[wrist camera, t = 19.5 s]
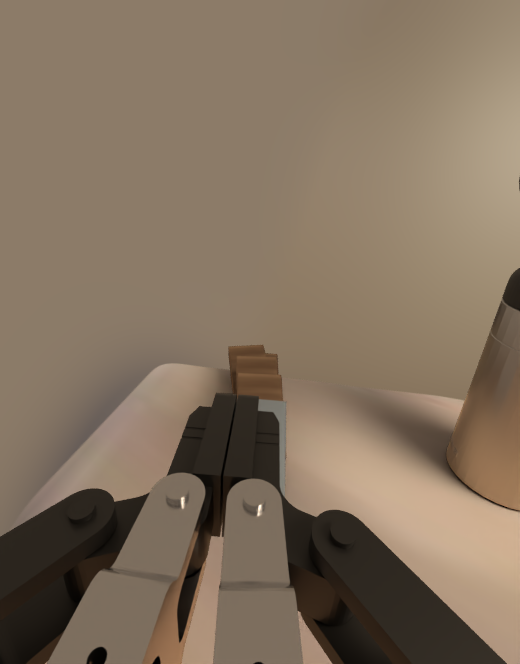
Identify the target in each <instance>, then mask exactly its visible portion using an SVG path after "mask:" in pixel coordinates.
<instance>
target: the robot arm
mask: <svg viewBox="0 0 520 664" xmlns="http://www.w3.org/2000/svg"><path fill="white" fill-rule="evenodd" d="M519 189H520V179H519ZM258 407H259V396H252V395H238V400H237V394H225V393H216V395H215V398H214V401H213V405H212V407H202V406H199V407H198V408H197V409H196V410H195V411H194V412H193V413H192V414H191V415H190V416H189V419H188V421H187V424H186V427H185V429H184V432H183V435H182V438H181V440H180V443H179V445H178V448H177V451H176V453H175V456H174V458H173V461H172V464H171V466H170V469H169V472H168V474H167V476H166V477H164V478H162V479H161V480H160V481H158V482H157V483H156V484H155V485H154V487H153V488H152V490H151V492H150V493H148V494H146V495H143V496H140V497H136V498H132V499H127V500H122V501H117V502H114V499H113V497H112V496H111V494H109V493H108V492H107V491H105V490H102V489H86V490H82V491H79V492H77V493H74V494H72V495H70V496H69V497H67V498H65V499H64V500H62V501H60V502H58V503H57V504H55V505H53V506H52V507H50V508H48V509H47V510H45V511H43V512H41V513H40V514H38V515H36V516H35V517H33V518H31V519H30V520H28V521H26V522H24V523H23V524H21V525H19V526H18V527H16V528H14V529H13V530H11V531H9V532H7V533H6V534H4V535H2V536H1V537H0V664H45V663H46V662H47V661H48V660H49V661H48V663H47V664H181V663H182V657H183V652H184V647H185V643H186V639H187V635H188V631H189V628H190V624H191V620H192V616H193V612H194V608H195V605H196V601H197V597H198V593H199V589H200V586H201V582H202V578H203V574H204V570H205V566H206V558H207V555H208V550H209V545H210V539H211V536H218V537H220V532H221V526H222V537H224V543H223V556H222V569H221V581H220V586H219V595H218V607H217V620H216V633H215V646H214V659H213V664H303V657H302V648H301V639H300V630H299V620H298V611H299V612H301V615H302V618H303V620H304V622H305V623H306V625H307V626H308V628H309V629H310V631H311V632H312V634H313V635H314V637H315V638H316V640H317V641H318V643H319V644H320V646H321V647H322V649H323V650H324V652H325V653H326V655H327V656H328V658H329V659H330V661H331V662H332V664H507V663H506V662H505V661H504V660H503V659H502V658H501V657H500V656H498V655H497V654H496V653H495V652H494V651H493V650H492V649H491V648H490V647H489V646H488V645H487V644H486V643H485V642H484V641H483V640H482V639H481V638H480V637H479V636H478V635H477V634H476V633H475V632H474V631H473V630H472V629H471V628H470V627H469V626H468V625H467V624H466V623H465V622H464V621H463V620H462V619H461V618H460V617H459V616H458V615H457V614H456V613H454V612H453V611H452V610H451V609H450V608H449V607H448V606H447V605H446V604H445V603H444V602H443V601H442V600H441V599H440V598H439V597H438V596H437V595H436V594H435V593H434V592H433V591H432V590H431V589H430V588H429V587H428V586H427V585H426V584H425V583H424V582H423V581H422V580H421V579H420V578H419V577H418V576H417V575H416V574H415V573H414V572H413V571H412V570H411V569H409V568H408V567H407V566H406V565H405V564H404V563H403V562H402V561H401V560H400V559H399V558H398V557H397V556H396V555H395V554H394V553H393V552H392V551H391V550H390V549H389V548H388V547H387V546H386V545H385V544H384V543H383V542H382V541H381V540H380V539H379V538H378V537H377V536H376V535H375V534H374V533H373V532H372V531H371V530H370V529H369V528H368V527H367V526H365V525H364V524H363V523H362V522H361V521H360V520H359V519H358V518H357V517H355V516H353V515H352V514H350V513H347V512H344V511H340V510H329V511H325V512H323V513H321V514H320V515H319V516H317V517H315V516H312V515H310V514H307V513H305V512H302V511H300V510H298V509H296V508H295V507H293V506H292V505H291V504H290V503H289V502H288V501H287V500H286V499H285V497H284V496H283V494H282V492H281V488H280V446H279V444H280V436H279V434H280V433H279V421H278V419H277V417H276V416H275V414H274V412H267V411H258ZM446 457H447V461H448V463H449V465H450V467H451V469H452V470H453V471H454V473H455V474H456V475H457V476H458V477H459V478H460V479H461V480H462V481H463V482H464V483H465V484H466V485H467V486H469V487H470V488H471V489H473V490H474V491H476V492H477V493H479V494H480V495H482V496H483V497H485V498H487V499H489V500H491V501H493V502H495V503H497V504H500V505H503V506H505V507H508V508H511V509H515V510H519V511H520V268H519V269H517V270H516V271H515V272H514V273H513V274H512V275H511V277H510V279H509V281H508V283H507V286H506V289H505V292H504V294H503V297H502V301H501V303H500V306H499V308H498V311H497V314H496V316H495V319H494V322H493V325H492V328H491V331H490V333H489V336H488V339H487V341H486V344H485V347H484V350H483V352H482V355H481V358H480V360H479V363H478V366H477V369H476V371H475V374H474V377H473V380H472V382H471V385H470V388H469V391H468V394H467V396H466V399H465V401H464V404H463V407H462V410H461V412H460V415H459V418H458V421H457V423H456V426H455V429H454V432H453V433H452V436H451V439H450V443H449V445H448V448H447V452H446ZM222 520H223V521H222Z"/></svg>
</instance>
